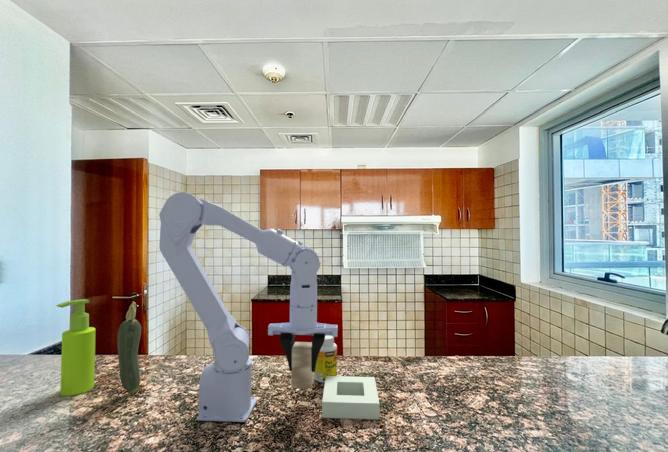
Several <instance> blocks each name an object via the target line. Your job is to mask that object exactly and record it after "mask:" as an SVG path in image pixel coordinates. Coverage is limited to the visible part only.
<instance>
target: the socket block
mask: <svg viewBox="0 0 668 452" xmlns="http://www.w3.org/2000/svg"><path fill="white" fill-rule="evenodd" d="M377 388H378V387H377V383H376V379H375V377H374V376H349V375H348V376H344V375H342V376H341V375H337V376H326V379H325V383H324V386H323V394H322V400H321V418H325V419H350V420H352V419H354V420H357V419H358V420H380V419H381V417H380V415H381V414H380V411H381V410H380V409H381V407H380V404H381V403H380V400H379V398H380V397H379V394H378V390H377Z"/></svg>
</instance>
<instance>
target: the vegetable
mask: <svg viewBox="0 0 668 452" xmlns="http://www.w3.org/2000/svg"><path fill="white" fill-rule="evenodd" d="M131 302H132V303H131V304H130V305H129V307H128V310H127V312H126V314H125V319H126V320H124V321H123V322H122V323H121V324H120V325H119V328H118V330H117V341H116V343H117V345H116V347H117V355H118V357H117V358H118V370H119V371H118V372H119V379H120V382H121V385H122V389H124V390H125V391H126V392H127V393H129V394H132V393H137V392H138V390H139V389H140V383H141V376H140V375H141V374H140V365H139V356H138V355H139V346H140V340H141V337H142V325H141V323H140V321H139V320H137V319H136V315H137V303H136V302H135V301H134V300H133V301H131Z"/></svg>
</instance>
